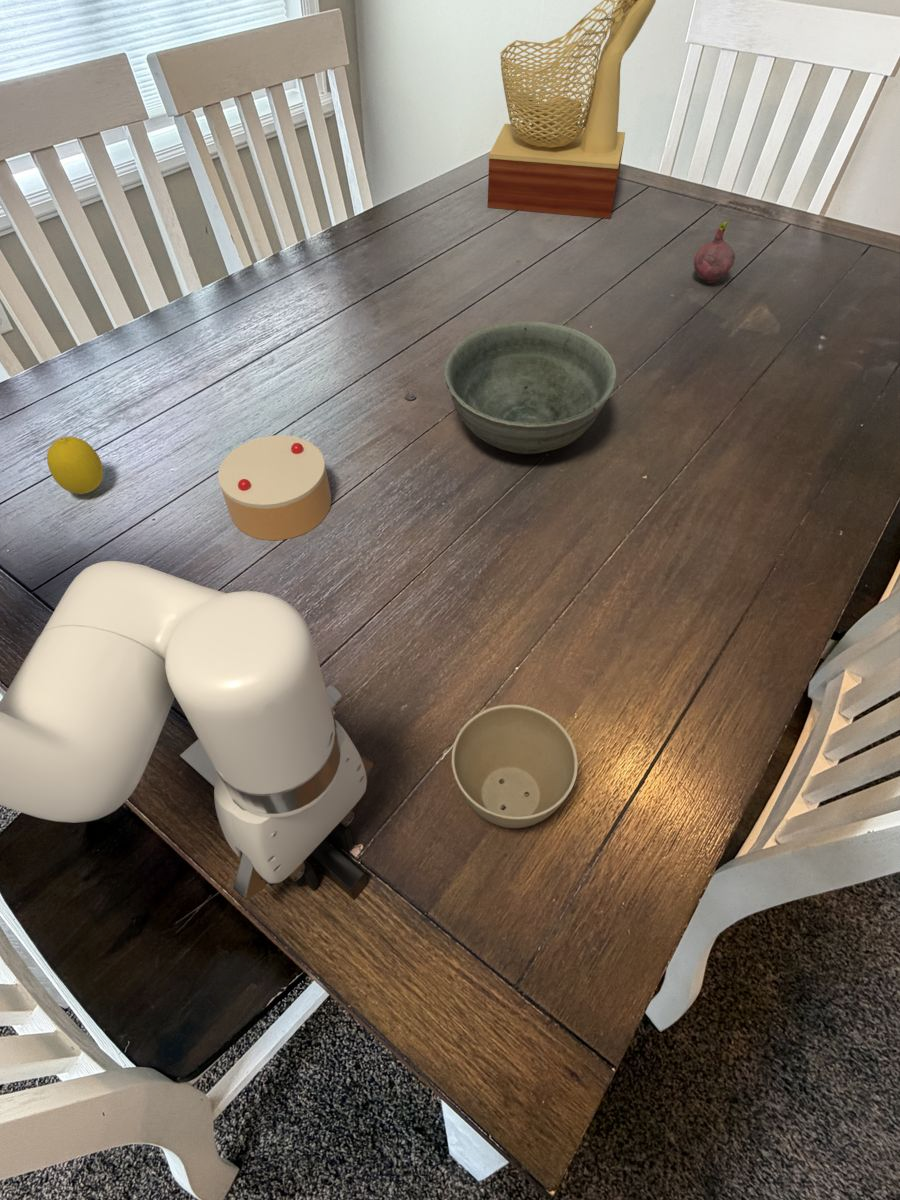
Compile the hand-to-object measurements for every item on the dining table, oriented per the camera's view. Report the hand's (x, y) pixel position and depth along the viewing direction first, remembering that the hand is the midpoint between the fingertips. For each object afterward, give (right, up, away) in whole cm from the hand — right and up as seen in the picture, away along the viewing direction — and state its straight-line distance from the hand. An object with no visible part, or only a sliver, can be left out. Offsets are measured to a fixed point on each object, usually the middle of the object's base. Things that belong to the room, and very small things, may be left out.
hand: (320, 856), depth 60 cm
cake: (-10, +33, +27) cm, 43 cm away
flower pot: (+16, +4, +4) cm, 17 cm away
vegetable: (+53, +73, +60) cm, 109 cm away
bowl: (+20, +43, +35) cm, 59 cm away
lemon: (-33, +34, +29) cm, 56 cm away
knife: (-4, +2, +2) cm, 5 cm away
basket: (+32, +99, +82) cm, 132 cm away
